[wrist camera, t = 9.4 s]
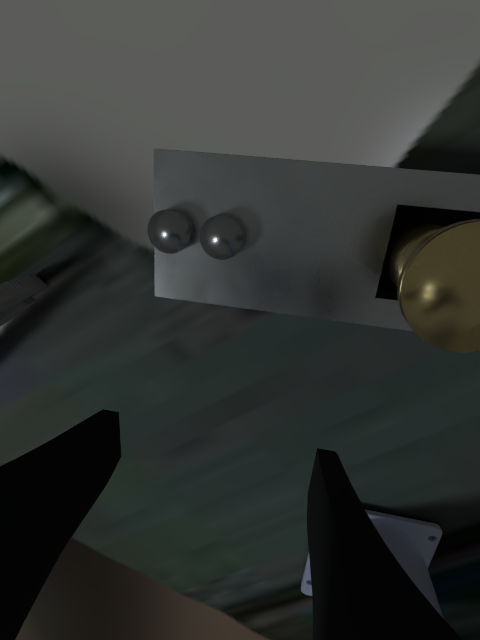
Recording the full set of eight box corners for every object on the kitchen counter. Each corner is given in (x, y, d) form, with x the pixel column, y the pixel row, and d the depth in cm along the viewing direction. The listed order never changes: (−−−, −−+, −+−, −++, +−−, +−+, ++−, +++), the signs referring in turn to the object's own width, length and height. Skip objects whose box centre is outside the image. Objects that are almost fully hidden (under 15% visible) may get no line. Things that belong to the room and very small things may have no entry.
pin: (443, 301, 18) (519, 362, 12) (358, 288, 19) (386, 340, 12) (473, 214, 17) (580, 231, 10) (379, 202, 17) (424, 211, 11)
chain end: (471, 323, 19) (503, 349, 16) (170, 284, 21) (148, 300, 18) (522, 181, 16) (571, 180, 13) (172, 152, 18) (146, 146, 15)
